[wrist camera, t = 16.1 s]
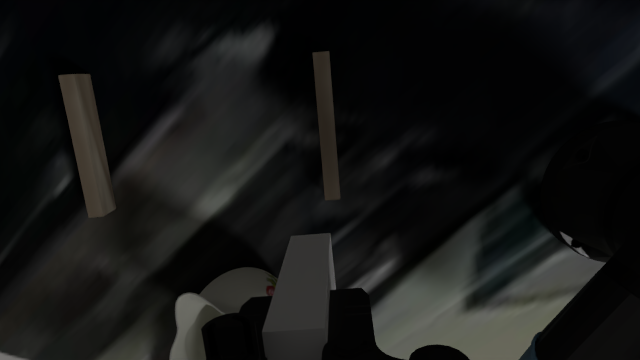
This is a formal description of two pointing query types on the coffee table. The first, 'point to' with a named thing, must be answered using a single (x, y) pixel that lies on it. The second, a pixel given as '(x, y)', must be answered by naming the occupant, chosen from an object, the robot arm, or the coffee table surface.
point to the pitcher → (215, 307)
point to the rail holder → (93, 151)
